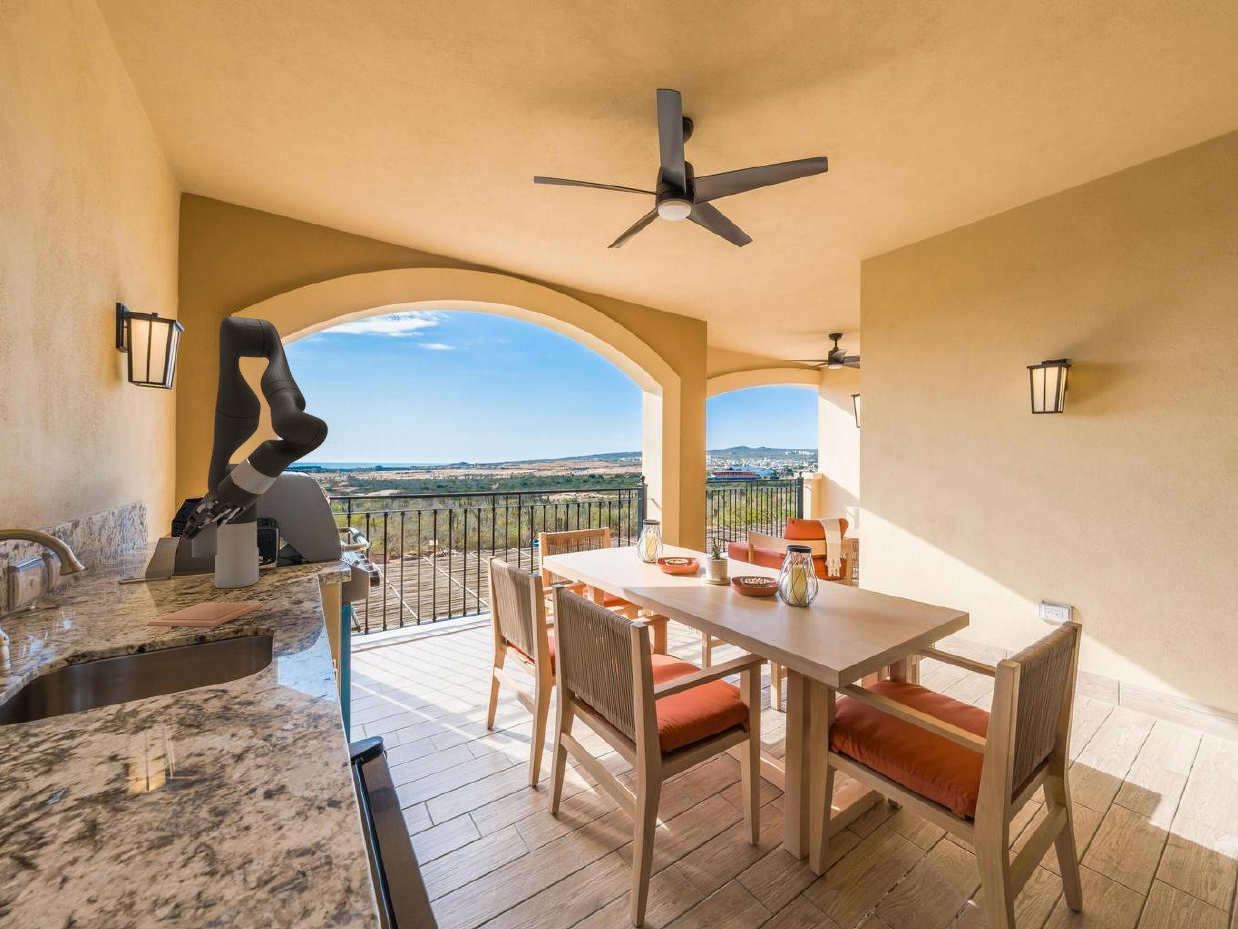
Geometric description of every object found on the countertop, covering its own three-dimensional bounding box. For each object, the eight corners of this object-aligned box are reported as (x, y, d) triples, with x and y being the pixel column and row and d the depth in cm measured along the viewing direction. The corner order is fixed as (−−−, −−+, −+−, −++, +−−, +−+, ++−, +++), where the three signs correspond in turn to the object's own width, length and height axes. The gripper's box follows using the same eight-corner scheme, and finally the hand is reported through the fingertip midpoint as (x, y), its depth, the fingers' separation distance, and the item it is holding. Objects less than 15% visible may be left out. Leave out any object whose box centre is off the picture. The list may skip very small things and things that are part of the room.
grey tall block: (203, 553, 117) (202, 504, 116) (222, 553, 117) (222, 505, 116) (186, 557, 112) (186, 506, 112) (206, 557, 112) (206, 507, 112)
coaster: (202, 605, 122) (202, 601, 122) (261, 606, 122) (261, 602, 122) (148, 625, 108) (148, 620, 108) (214, 626, 108) (214, 621, 108)
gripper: (260, 467, 121) (210, 518, 122) (211, 469, 107) (154, 527, 107) (283, 490, 121) (232, 541, 122) (236, 495, 107) (179, 553, 107)
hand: (196, 534), depth 114 cm, fingers closed on grey tall block, 4 cm apart
